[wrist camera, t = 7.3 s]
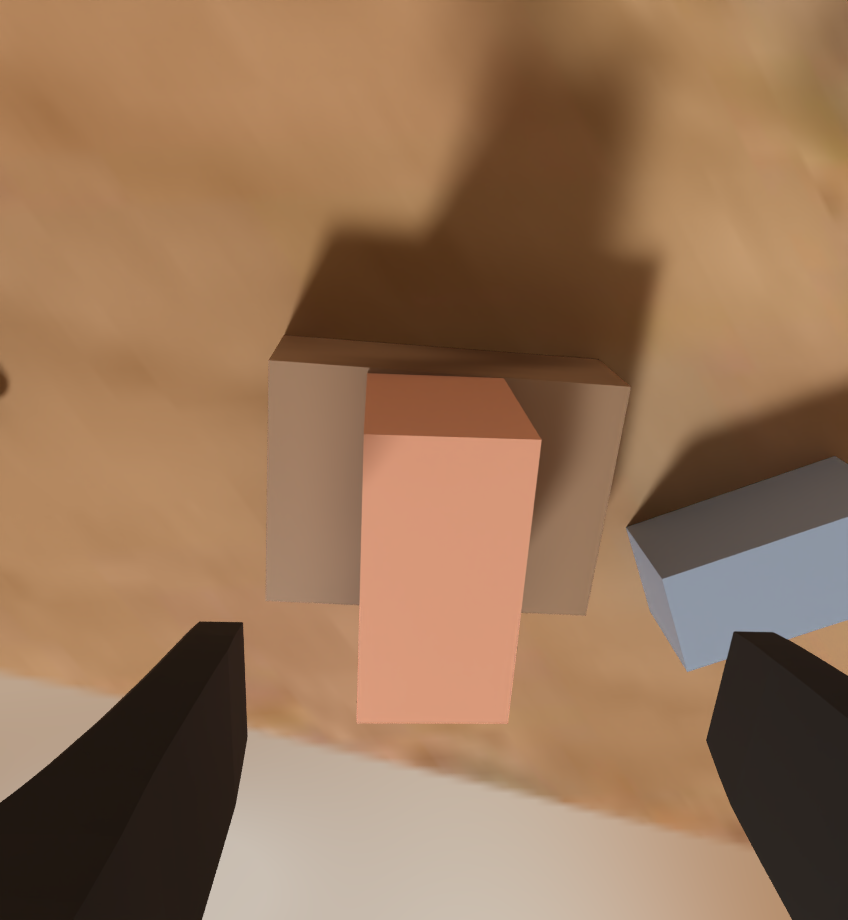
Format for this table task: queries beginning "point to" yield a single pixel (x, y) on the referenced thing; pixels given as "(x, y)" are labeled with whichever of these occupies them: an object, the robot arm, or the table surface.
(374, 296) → the table surface
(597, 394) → the walnut block
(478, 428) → the terracotta brick
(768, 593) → the slate-blue brick
